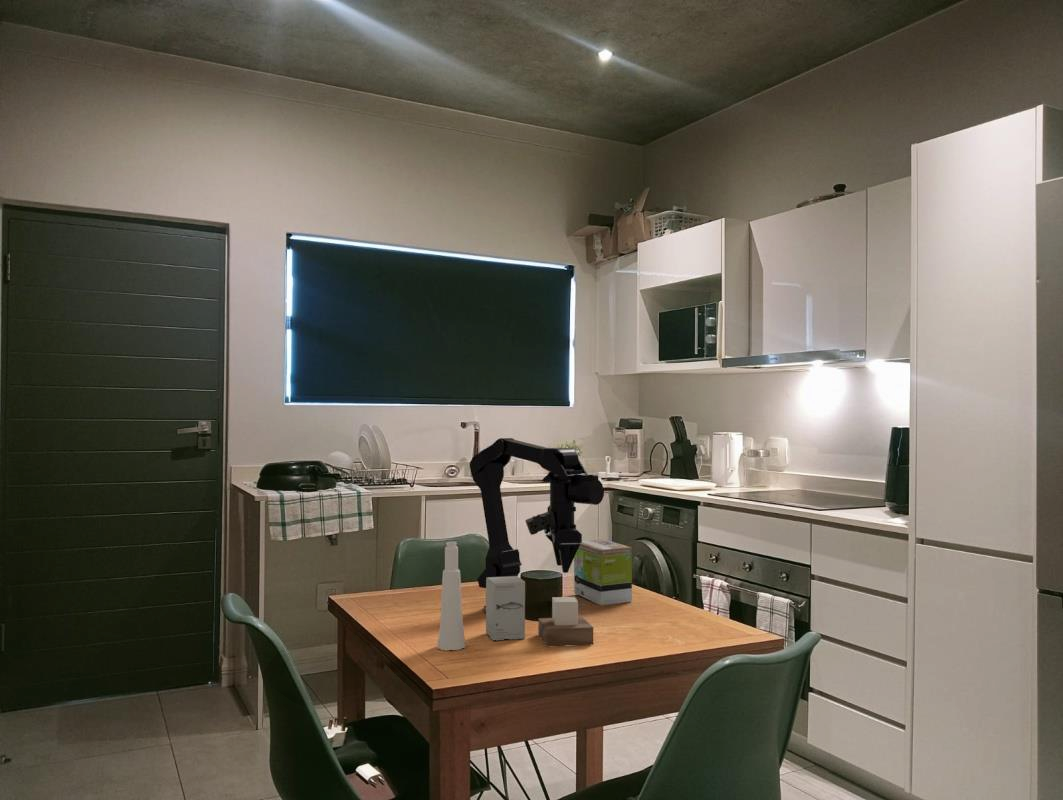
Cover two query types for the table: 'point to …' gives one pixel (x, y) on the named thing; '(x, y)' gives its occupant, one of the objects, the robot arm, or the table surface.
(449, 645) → the cosmetic bottle
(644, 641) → the table surface
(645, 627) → the table surface
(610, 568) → the tea box
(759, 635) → the table surface
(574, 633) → the walnut block
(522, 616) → the supplement box
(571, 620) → the ceramic cube
